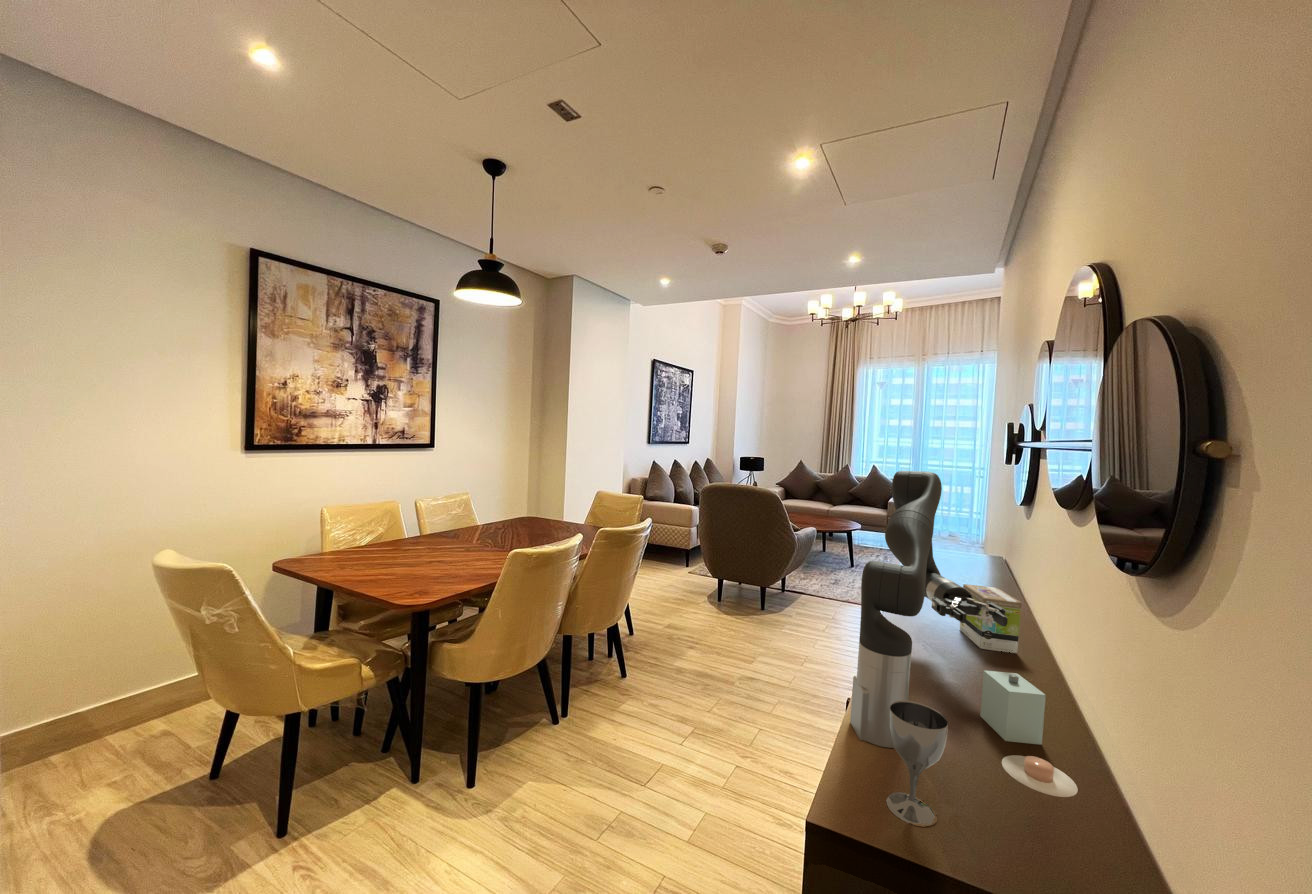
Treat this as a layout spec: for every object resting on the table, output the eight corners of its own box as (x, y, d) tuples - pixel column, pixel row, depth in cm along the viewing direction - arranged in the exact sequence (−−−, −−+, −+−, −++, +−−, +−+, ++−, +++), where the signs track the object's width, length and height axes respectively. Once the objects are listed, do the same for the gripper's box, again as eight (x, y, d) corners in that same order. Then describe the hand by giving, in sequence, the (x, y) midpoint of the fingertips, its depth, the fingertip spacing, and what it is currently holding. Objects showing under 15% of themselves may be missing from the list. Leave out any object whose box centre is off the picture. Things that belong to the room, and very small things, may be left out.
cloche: (1005, 742, 96) (1009, 685, 96) (980, 717, 105) (984, 664, 104) (1041, 746, 95) (1046, 688, 95) (1013, 720, 104) (1017, 667, 104)
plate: (1025, 797, 82) (1026, 792, 82) (988, 756, 92) (989, 752, 92) (1093, 805, 81) (1094, 800, 81) (1049, 763, 91) (1049, 758, 91)
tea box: (1019, 654, 140) (1023, 602, 139) (979, 649, 142) (983, 597, 141) (994, 633, 154) (997, 586, 154) (958, 629, 156) (961, 582, 156)
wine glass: (922, 791, 82) (928, 701, 81) (952, 830, 74) (960, 730, 73) (874, 790, 81) (880, 699, 81) (899, 828, 73) (906, 728, 73)
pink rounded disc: (1033, 781, 85) (1034, 769, 84) (1018, 765, 89) (1019, 754, 88) (1058, 784, 84) (1059, 772, 84) (1042, 768, 88) (1043, 757, 88)
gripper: (920, 579, 127) (952, 601, 111) (979, 583, 126) (1020, 606, 110) (918, 608, 128) (949, 634, 111) (976, 613, 126) (1017, 640, 110)
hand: (984, 620), depth 111 cm, fingers open, 8 cm apart
